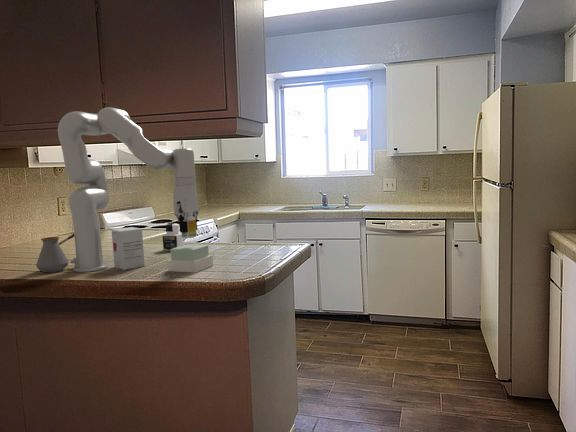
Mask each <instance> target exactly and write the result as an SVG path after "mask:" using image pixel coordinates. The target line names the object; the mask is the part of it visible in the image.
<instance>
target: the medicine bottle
mask: <svg viewBox="0 0 576 432" xmlns="http://www.w3.org/2000/svg"><path fill="white" fill-rule="evenodd" d="M165 233H166V234H163V235H162V248H163V251H165V252H166V251H169V252H171V251H170V249H173V248H176V247H180V246H183V245H185V244H184V243H185V242H184V238H182V232H180V228H179V223H167V224H166V225H165Z"/></svg>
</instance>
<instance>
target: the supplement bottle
mask: <svg viewBox="0 0 576 432" xmlns="http://www.w3.org/2000/svg"><path fill="white" fill-rule="evenodd" d="M182 213H183V212H182ZM182 216H184V215H182ZM186 221H187V225H188V232H181V233H182V238H183V239H192V238H196V237H197V230H196V221H195V217H193V212H190V213H187V217H186Z"/></svg>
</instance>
